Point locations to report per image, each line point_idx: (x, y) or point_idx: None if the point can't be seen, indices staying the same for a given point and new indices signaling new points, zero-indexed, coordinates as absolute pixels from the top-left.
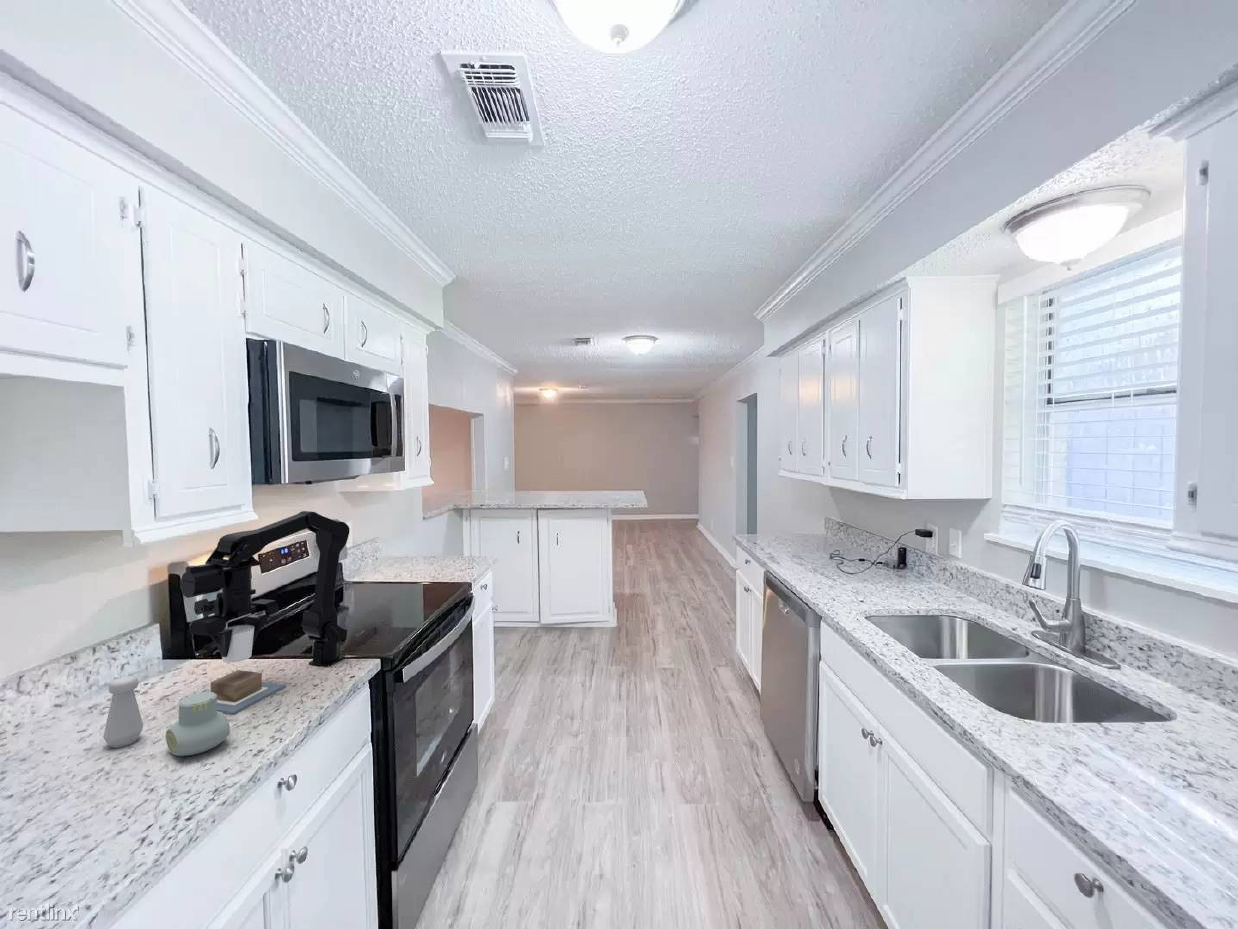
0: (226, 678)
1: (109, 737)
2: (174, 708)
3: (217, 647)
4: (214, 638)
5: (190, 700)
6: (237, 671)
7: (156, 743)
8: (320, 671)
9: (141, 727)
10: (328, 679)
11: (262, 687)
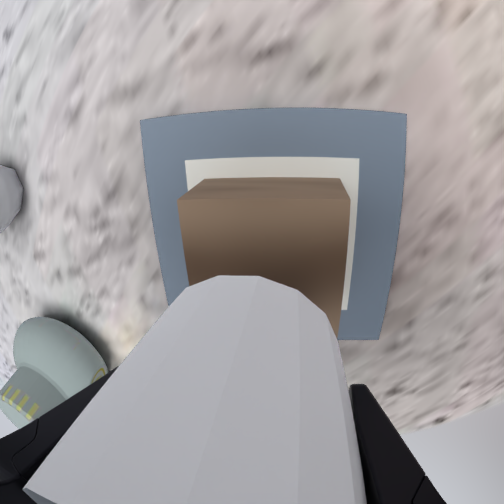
0: (237, 238)
1: None
2: (132, 96)
3: (61, 405)
4: (2, 457)
5: (9, 415)
6: (332, 213)
7: (36, 262)
8: (488, 339)
9: (3, 228)
10: (430, 392)
11: (345, 289)
